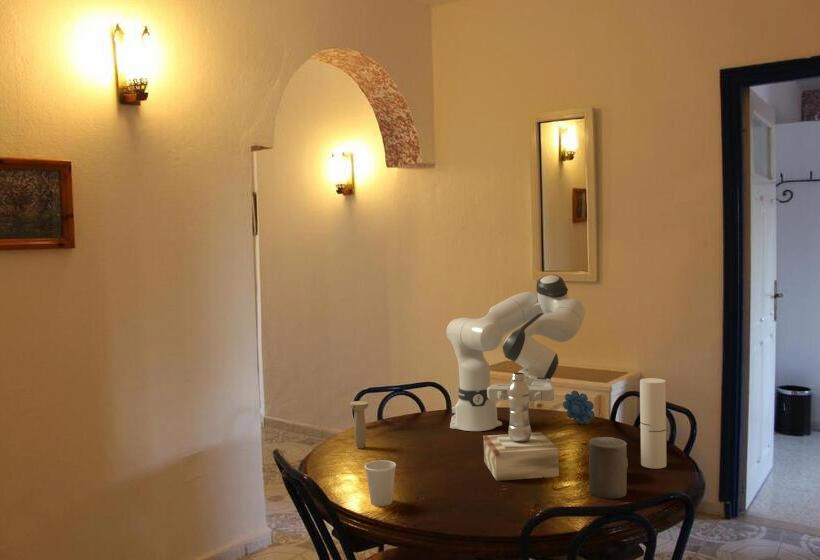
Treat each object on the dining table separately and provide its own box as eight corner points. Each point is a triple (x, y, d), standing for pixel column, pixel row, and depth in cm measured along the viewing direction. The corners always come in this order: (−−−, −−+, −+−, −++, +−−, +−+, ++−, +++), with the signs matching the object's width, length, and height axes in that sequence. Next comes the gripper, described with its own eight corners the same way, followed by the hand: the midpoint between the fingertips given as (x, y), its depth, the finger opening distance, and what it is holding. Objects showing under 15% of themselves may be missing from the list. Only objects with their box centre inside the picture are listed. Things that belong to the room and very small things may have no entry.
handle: (363, 450, 246) (361, 405, 245) (348, 448, 250) (346, 403, 249) (372, 447, 250) (371, 402, 249) (357, 444, 254) (356, 400, 253)
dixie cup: (361, 499, 201) (360, 462, 201) (391, 494, 204) (389, 458, 204) (371, 510, 194) (370, 471, 193) (402, 504, 197) (400, 466, 196)
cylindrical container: (648, 459, 227) (647, 377, 226) (670, 464, 222) (669, 380, 221) (636, 465, 222) (635, 381, 221) (659, 470, 217) (658, 384, 216)
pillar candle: (586, 496, 198) (586, 440, 197) (591, 484, 207) (591, 430, 206) (625, 500, 194) (625, 443, 193) (628, 488, 203) (628, 433, 202)
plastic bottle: (530, 444, 218) (529, 375, 217) (507, 443, 220) (505, 375, 219) (532, 438, 225) (530, 371, 223) (509, 437, 226) (507, 371, 225)
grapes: (559, 425, 270) (558, 391, 270) (565, 420, 276) (564, 388, 275) (590, 428, 264) (590, 394, 264) (596, 424, 270) (596, 390, 269)
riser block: (483, 461, 231) (483, 434, 230) (541, 457, 232) (541, 431, 232) (496, 480, 213) (495, 451, 212) (558, 476, 214) (558, 447, 214)
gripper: (490, 377, 240) (482, 386, 227) (555, 378, 235) (551, 388, 221) (490, 397, 240) (483, 407, 227) (555, 399, 235) (552, 409, 222)
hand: (517, 398), depth 224 cm, fingers open, 8 cm apart
